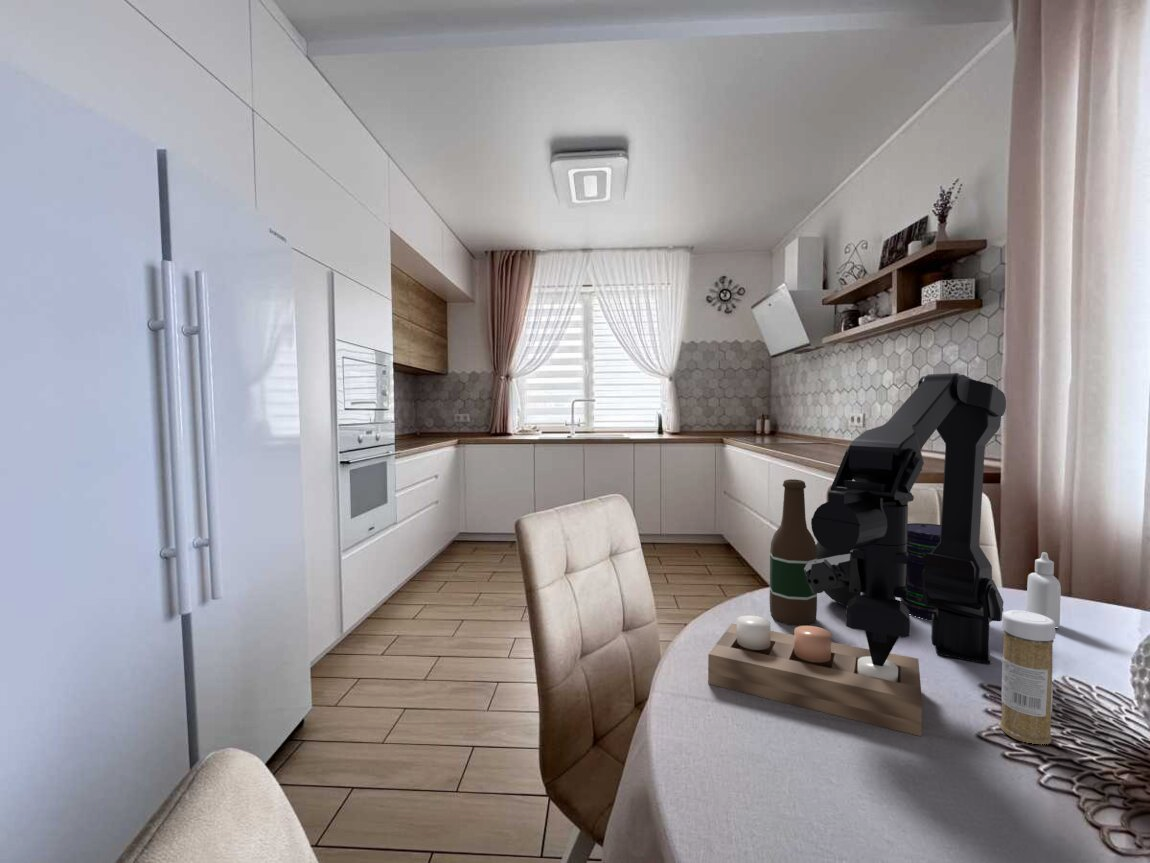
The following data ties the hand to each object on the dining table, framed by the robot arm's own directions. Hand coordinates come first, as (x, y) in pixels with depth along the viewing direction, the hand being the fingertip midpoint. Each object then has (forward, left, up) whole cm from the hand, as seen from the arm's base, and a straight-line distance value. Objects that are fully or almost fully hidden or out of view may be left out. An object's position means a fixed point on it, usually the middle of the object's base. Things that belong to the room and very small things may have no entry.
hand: (877, 664), depth 69 cm
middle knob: (+7, 0, -1) cm, 8 cm away
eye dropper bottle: (-24, -42, -5) cm, 48 cm away
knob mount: (+7, 0, -5) cm, 9 cm away
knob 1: (+15, 0, -1) cm, 15 cm away
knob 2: (0, 0, -3) cm, 3 cm away
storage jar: (-8, -39, -5) cm, 40 cm away
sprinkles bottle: (-15, 0, -5) cm, 15 cm away
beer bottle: (+13, -24, -5) cm, 28 cm away
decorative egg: (+5, -36, -5) cm, 37 cm away
